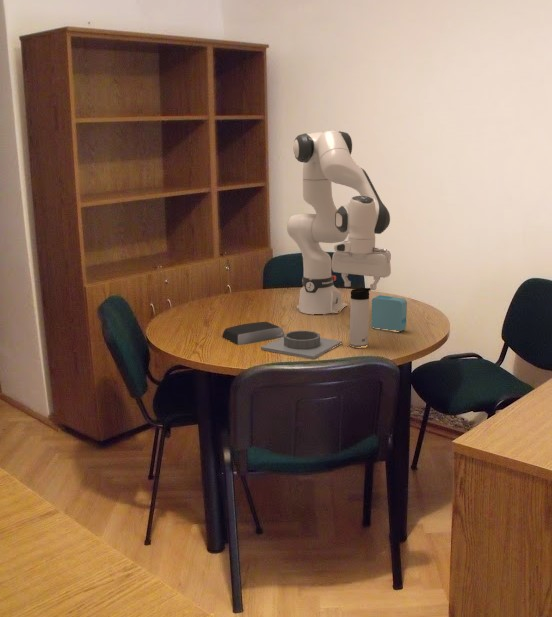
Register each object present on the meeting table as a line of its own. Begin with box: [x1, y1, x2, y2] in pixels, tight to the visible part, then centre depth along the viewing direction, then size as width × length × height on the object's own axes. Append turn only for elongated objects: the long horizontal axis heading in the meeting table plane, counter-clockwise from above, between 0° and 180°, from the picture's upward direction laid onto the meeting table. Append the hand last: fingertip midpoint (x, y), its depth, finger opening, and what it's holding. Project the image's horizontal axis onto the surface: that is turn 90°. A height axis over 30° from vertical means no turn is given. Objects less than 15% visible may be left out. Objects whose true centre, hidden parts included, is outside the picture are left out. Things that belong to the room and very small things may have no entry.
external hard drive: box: [221, 321, 285, 346], centre depth 255 cm, size 13×19×4 cm
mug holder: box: [260, 330, 343, 360], centre depth 242 cm, size 20×20×4 cm
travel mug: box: [349, 287, 372, 347], centre depth 241 cm, size 6×7×20 cm
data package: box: [370, 295, 408, 332], centre depth 262 cm, size 12×4×12 cm, turn 56°
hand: (360, 288), depth 238 cm, fingers open, 8 cm apart
